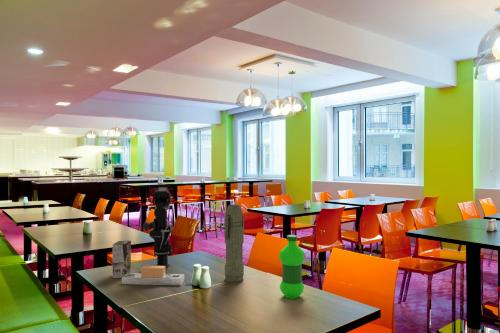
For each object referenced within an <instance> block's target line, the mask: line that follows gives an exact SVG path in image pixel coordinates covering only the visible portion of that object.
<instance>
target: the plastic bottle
mask: <svg viewBox="0 0 500 333" xmlns="http://www.w3.org/2000/svg"><path fill="white" fill-rule="evenodd" d="M286 241H287V244H286V245H285V246H284V247H283V248H282V249H281V250H279V254H278V257H279V261H280V263H281V266H282V269H281V270H282V273H281V275H282V276H281V279H282V280H281V282H280V285H279V290H280V292H281V293H282V294H283V295H284V297H285V298H286V297H287V299H289V298H290V300H294V299H298V298H299V297H300V296H301V295H302V294H303V293H304V290H305V286H304V285H305V284H304V283H303V274H302V273H303V270H302V269H303V264H304V262H305V258H306V253H305V251H304V250H303V249H302V248H301V247H300V246H299V245H297V241H298V235H295V234H287V235H286Z"/></svg>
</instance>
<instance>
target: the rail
mask: <svg viewBox="0 0 500 333" xmlns="http://www.w3.org/2000/svg"><path fill="white" fill-rule="evenodd" d="M184 282H185V274H184V273H166V275H165V276H164V277H141V273H140V272H131V273H127V274H125V275H124V276H123V277H122V278H121V285H146V286H147V285H151V286H157V285H158V286H159V285H160V286H182V285H183V283H184Z"/></svg>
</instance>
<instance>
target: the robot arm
mask: <svg viewBox="0 0 500 333" xmlns="http://www.w3.org/2000/svg"><path fill="white" fill-rule="evenodd" d="M171 203H172V195H171V192H170V191H169V190H168V187H166V186H161V187H160V186H159V187H157V190H154V192H153V193H152V206H155V208H154V211H153V215H154V218H153V220H152V221H150V222H148V221H146V222H144V223H143V225H142V229H143V230H144V232H148V231H149V230H150V231H149V236H148V237H150V238H151V239H152V240H154V244H153V256H154V257H156V265H155V266H166V269H167V268H168V267H170V265H171V264H170V263H169V256H171V255H172V254H173V246H172V244H171V243H170V239H169V237H170V235H171V233H172V230H173V226H172V225H171V224H169V223H168V220H169V217H168V210H169V209H170V207H171V205H170V204H171Z"/></svg>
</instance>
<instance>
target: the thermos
mask: <svg viewBox="0 0 500 333" xmlns="http://www.w3.org/2000/svg"><path fill="white" fill-rule="evenodd" d="M225 213H226V214H225V217H224V220H223V221H224V223H223V224H224V228H223V229H224V230H223V234H224V244H225V263H224V281H225V282H227V283H231V282H232V284H233V283H236V282H237V283H241V282H243V281H244V275H245V274H244V269H245V266H244V263H243V259H244V258H243V256H244V255H243V253H244V252H243V249H244V248H243V247H244V245H243V244H244V240H245V238H244V237H245V236H244V235H245V217H244V214H243V209H242V206H241V205H239V204H229V205H227V208H226V211H225Z"/></svg>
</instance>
